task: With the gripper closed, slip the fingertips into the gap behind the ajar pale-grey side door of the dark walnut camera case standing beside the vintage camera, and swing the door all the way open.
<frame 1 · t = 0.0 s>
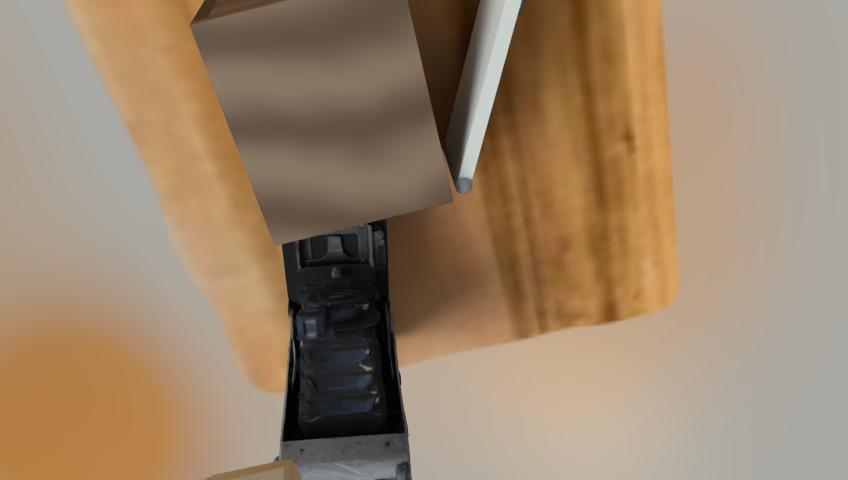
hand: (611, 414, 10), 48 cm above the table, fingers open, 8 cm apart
case: (332, 78, 56), on the table
vintage camera: (336, 273, 65), on the table
door: (485, 78, 53), point 4 cm above the table, hinge at 25.0°
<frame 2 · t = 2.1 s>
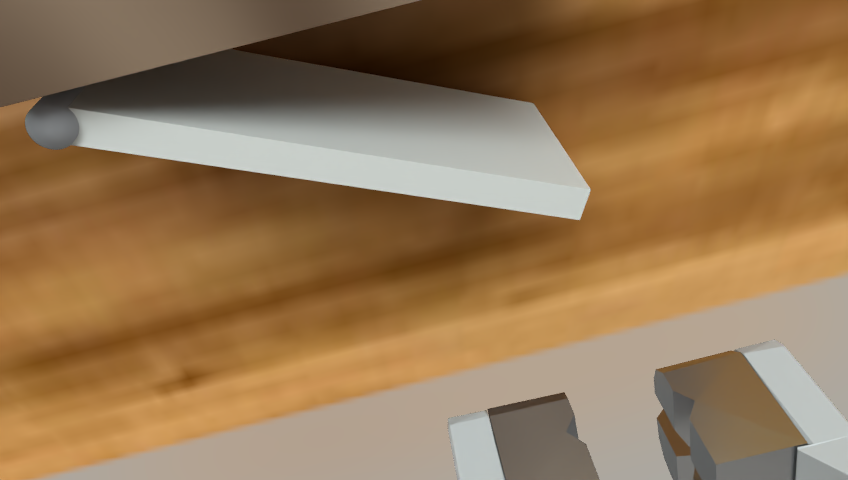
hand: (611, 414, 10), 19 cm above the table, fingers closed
door: (325, 131, 23), point 4 cm above the table, hinge at 25.0°
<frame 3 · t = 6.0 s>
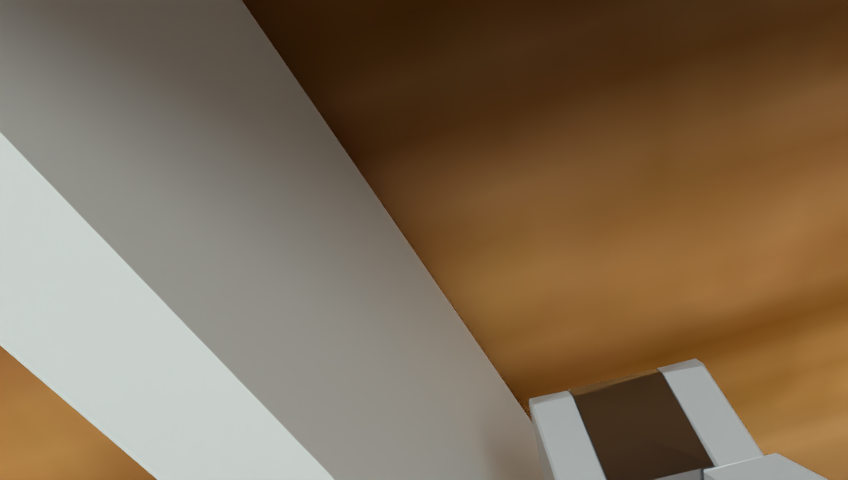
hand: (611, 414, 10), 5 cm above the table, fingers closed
door: (356, 391, 10), point 4 cm above the table, hinge at 75.6°, touching gripper
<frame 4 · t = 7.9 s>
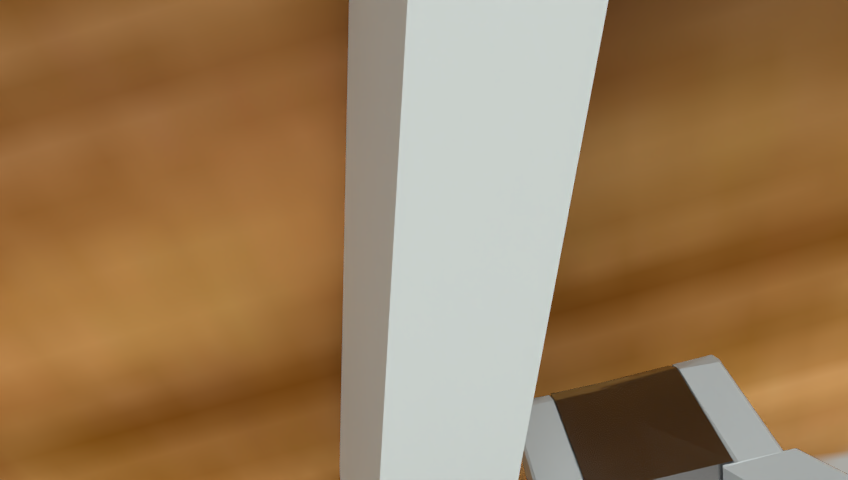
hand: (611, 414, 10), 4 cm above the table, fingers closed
door: (362, 219, 8), point 4 cm above the table, hinge at 107.2°, touching gripper
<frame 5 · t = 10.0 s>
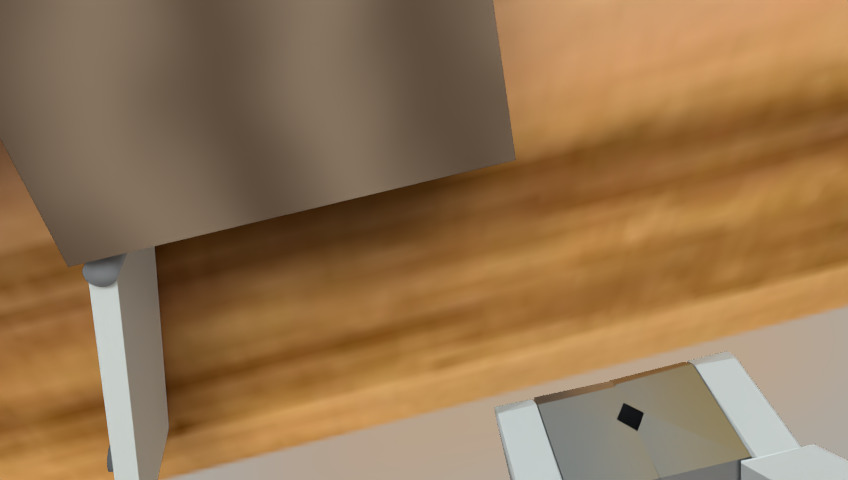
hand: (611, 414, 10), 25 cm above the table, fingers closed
door: (124, 358, 34), point 4 cm above the table, hinge at 107.2°
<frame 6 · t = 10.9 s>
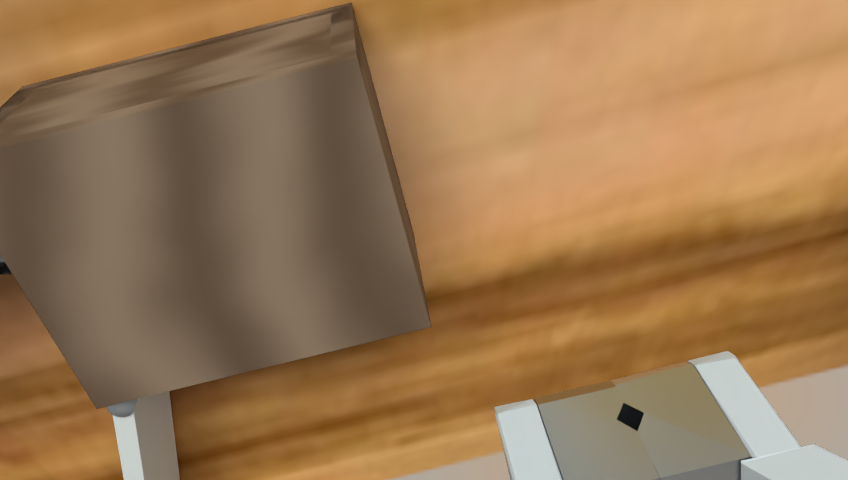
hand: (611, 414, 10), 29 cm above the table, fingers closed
case: (234, 166, 39), on the table
door: (142, 452, 43), point 4 cm above the table, hinge at 107.2°
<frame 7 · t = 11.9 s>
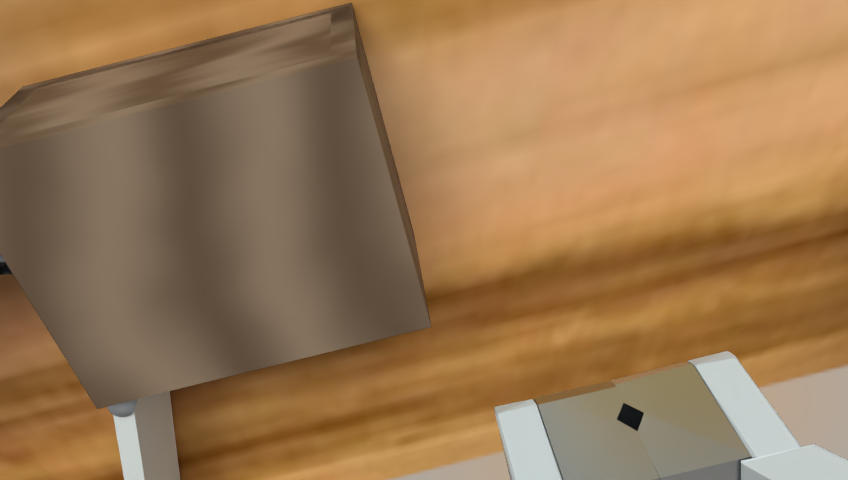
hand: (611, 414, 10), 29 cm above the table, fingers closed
case: (234, 166, 39), on the table
door: (143, 452, 43), point 4 cm above the table, hinge at 107.2°
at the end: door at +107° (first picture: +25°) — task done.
